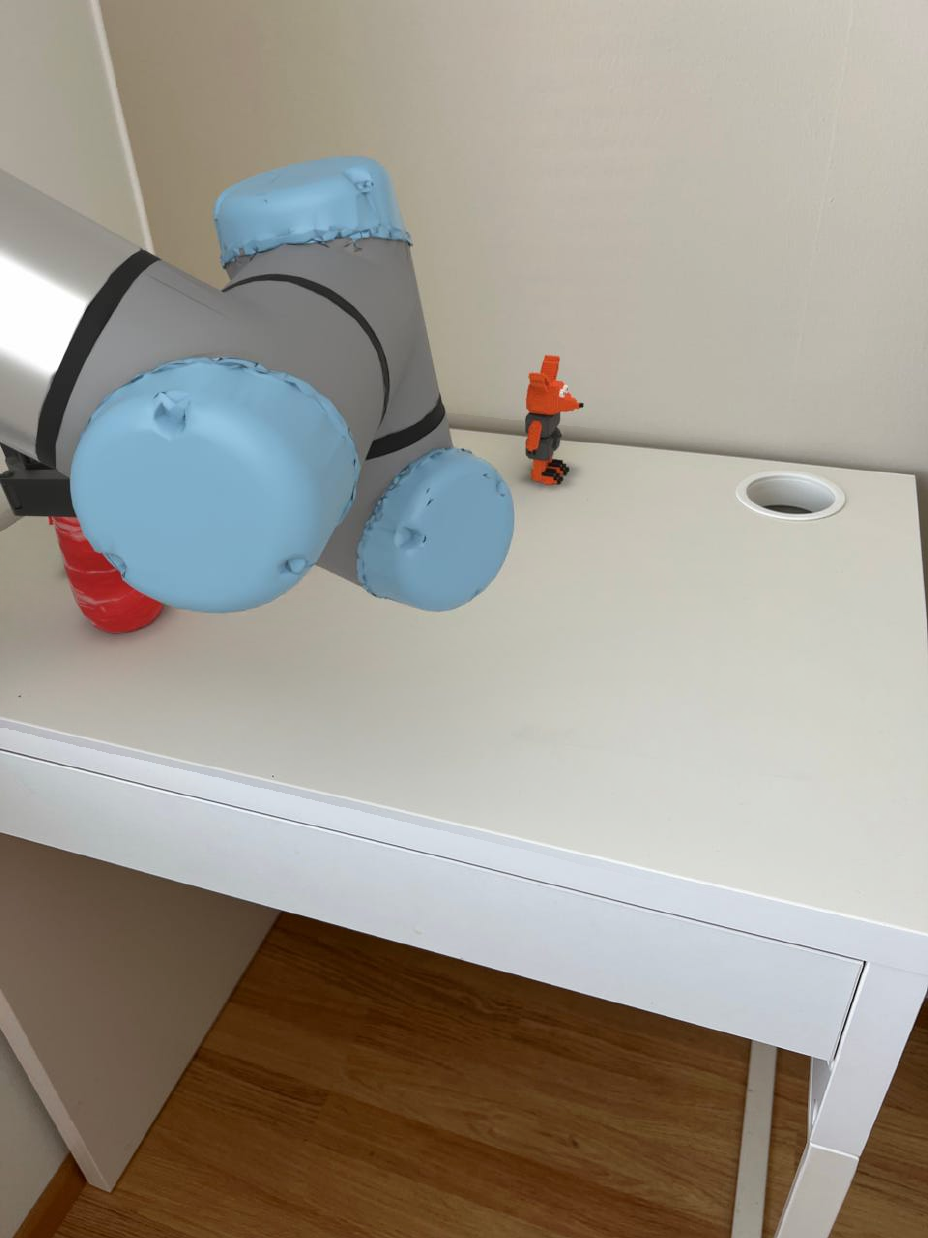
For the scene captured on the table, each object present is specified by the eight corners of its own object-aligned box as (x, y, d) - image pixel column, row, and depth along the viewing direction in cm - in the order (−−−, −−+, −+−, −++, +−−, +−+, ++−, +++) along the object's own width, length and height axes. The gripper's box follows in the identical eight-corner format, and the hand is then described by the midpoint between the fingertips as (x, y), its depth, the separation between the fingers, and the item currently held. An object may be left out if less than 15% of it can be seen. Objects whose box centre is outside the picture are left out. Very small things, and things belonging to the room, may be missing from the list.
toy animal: (570, 497, 101) (571, 383, 94) (519, 490, 103) (516, 378, 96) (592, 462, 107) (595, 353, 100) (543, 456, 109) (542, 349, 102)
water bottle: (226, 594, 89) (164, 316, 75) (191, 647, 83) (115, 356, 69) (102, 586, 92) (18, 315, 77) (58, 638, 85) (-42, 353, 71)
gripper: (93, 639, 50) (-52, 537, 64) (450, 450, 63) (264, 400, 78) (36, 506, 46) (-106, 429, 60) (429, 333, 59) (237, 303, 74)
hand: (102, 412), depth 69 cm, fingers open, 13 cm apart
